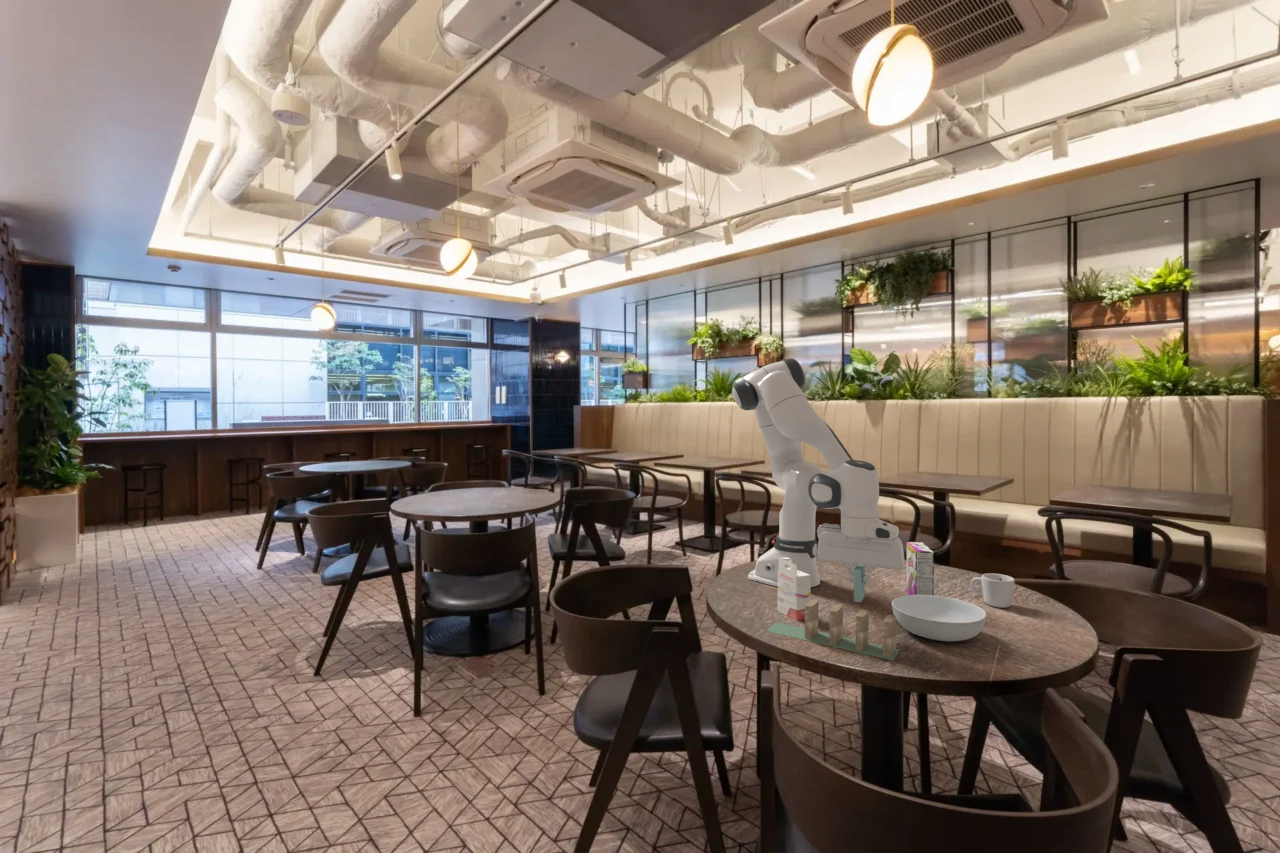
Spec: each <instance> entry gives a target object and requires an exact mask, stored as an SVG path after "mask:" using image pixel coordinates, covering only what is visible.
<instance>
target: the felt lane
mask: <svg viewBox="0 0 1280 853" xmlns="http://www.w3.org/2000/svg"><path fill="white" fill-rule="evenodd" d="M765 631H766V632H768V633H773V634H778V635H782V636H786V637H791V638H795V639H798V640H804V641H807V642H812V643H815V644H816V643H817V644H820V645H825V646H829V647H834V648H836V649H837V648H838V649H842V650H846V651H850V652H854V653H858V654H864V655H867V656H873V657H877V658H880V659H886V660H889V661H895V658H896V657H897V655H898V653H899V652H900V651H901V649H899V648H895V652H894V653H893V655H892V656H891V658H889V657H885V656H883V644H882V645H881V644H877V643H872V642H868V645H867V647H866V648H865V649H864V650H863V651H858V650H856V638H855V639H854V638H850V637H846V636H843V639H842V640H841V641H840V642H839V643H838V644H837V645H832V644H830V633H826V632H822V631H818V634H817V635H816V636H814V637H813V638H812V639H806V638H805V627H800V626H795V625H791V624H786V623H782V622H775V623H774V624H773V625H771V626H770V627H768V629H766V630H765Z"/></svg>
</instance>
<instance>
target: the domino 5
mask: <svg viewBox="0 0 1280 853" xmlns="http://www.w3.org/2000/svg"><path fill="white" fill-rule="evenodd" d="M882 622H883V624H882V626H883V627H882V646H883V656H885V657H889V658H891V656H892V655H893V653H894V652H895V649H896V647H897V646H896V641H897V640H896V639H897V638H896V634H897V627H896V626H897V620H896V616H894V614H887V616H886V617H885V618H884V619H883V621H882Z"/></svg>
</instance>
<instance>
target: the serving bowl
mask: <svg viewBox="0 0 1280 853" xmlns="http://www.w3.org/2000/svg"><path fill="white" fill-rule="evenodd" d="M906 595H907V594H906ZM906 595H903V596H898V597H896V598H894V599H893V600H892V601H891V609H892V613H893V615H894V616H896V622H898V624H899V625H900V626H901V627H903V628H904V629H905V630H906V631H908V632H910V633H911V634H913V635H916V636H918V637H923V638H924V639H925V638H926V639H928V640H934V641H940V642H960V641H961V642H962V641H966V640H967V641H968V640H970V639H972V638H974V637H976V636H978V634H980V633H981V632H982V630H984V627H985V624H986V622H987V613H986V611H985V610H984V609H983V608H981V607H980V606H978V605H975V603H971V602H970V601H969V602H968V601H965V600H962V599H958V598H953V597H949V596H940V595H907V596H906Z"/></svg>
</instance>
